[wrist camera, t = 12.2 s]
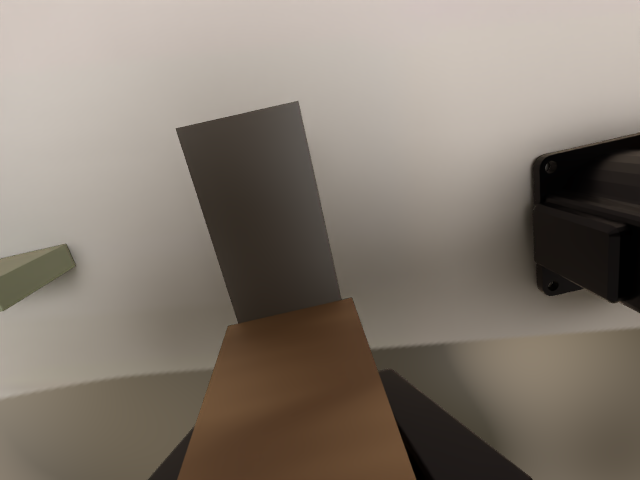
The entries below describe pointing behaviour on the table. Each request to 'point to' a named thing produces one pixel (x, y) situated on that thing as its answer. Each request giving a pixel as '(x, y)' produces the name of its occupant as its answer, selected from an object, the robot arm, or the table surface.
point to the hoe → (282, 319)
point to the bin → (31, 272)
